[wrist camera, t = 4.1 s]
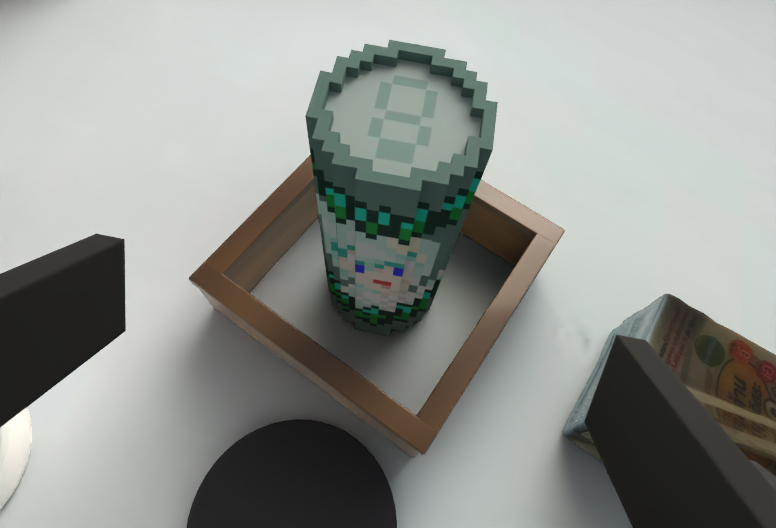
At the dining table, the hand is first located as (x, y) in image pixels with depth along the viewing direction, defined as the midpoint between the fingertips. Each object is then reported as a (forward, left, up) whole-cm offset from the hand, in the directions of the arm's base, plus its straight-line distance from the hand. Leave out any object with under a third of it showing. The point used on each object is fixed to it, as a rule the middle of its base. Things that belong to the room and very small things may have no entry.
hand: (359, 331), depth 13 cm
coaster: (+1, -6, -15) cm, 16 cm away
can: (-3, +7, -15) cm, 17 cm away
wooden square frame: (-3, +7, -15) cm, 17 cm away
